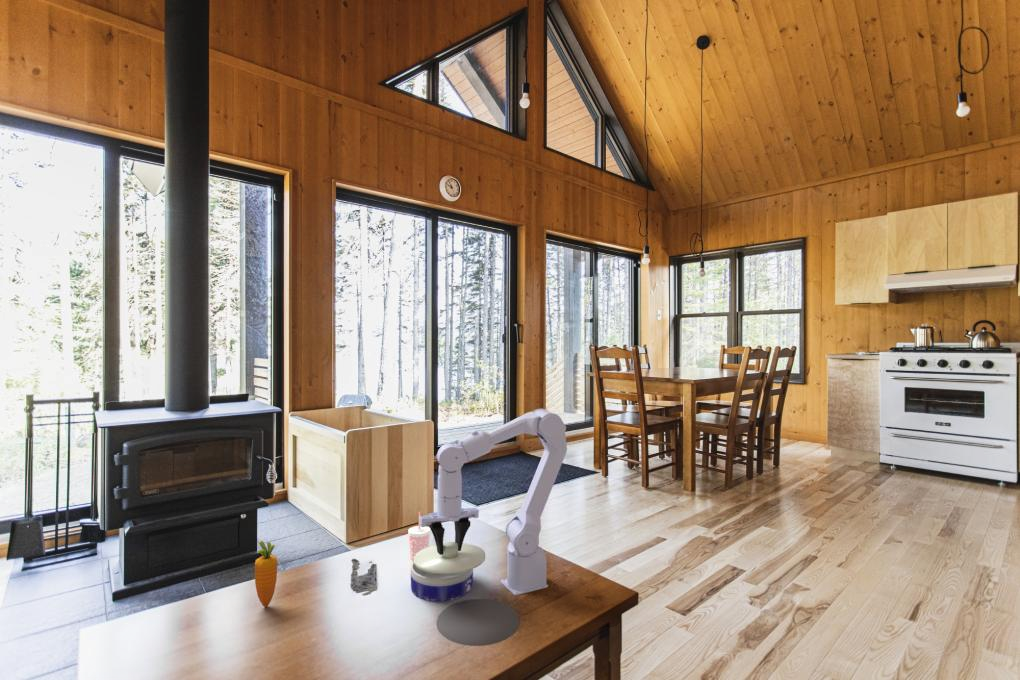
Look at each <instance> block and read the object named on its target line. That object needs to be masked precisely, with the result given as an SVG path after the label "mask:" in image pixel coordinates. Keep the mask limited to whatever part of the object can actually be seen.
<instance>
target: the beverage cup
mask: <svg viewBox="0 0 1020 680" xmlns="http://www.w3.org/2000/svg"><path fill="white" fill-rule="evenodd" d="M420 516H421V511H418V518H419V517H420ZM407 531H408V532H407V534H408V539H409V555H410V556H409V557H410V565H411V564H412V563H413V562H414V556H415V555H416V553H418V552H419V551H420V550H422V549H424V548H427V547H430V534H431V533H432V531H431V529H430V527H429V526H428V525H426V527H421V526H420V525H419V524H418V525H415V526H411V527H410V528H408V530H407Z"/></svg>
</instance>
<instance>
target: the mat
mask: <svg viewBox="0 0 1020 680" xmlns="http://www.w3.org/2000/svg"><path fill="white" fill-rule="evenodd" d="M520 620H521V619H520V616H519V614H518V612H517V611H516V609H514V608H513V607H512V606H510V604H509V605H508V604H507V603H505V602H502V601H498V600H496V599H495V600H494V599H486V598H475V599H471V598H470V599H466V600H461V601H459V602H455V603H453V604H451V605H449V606H447V607H446V608H444V609H443V610H442V611H441V612H440V614H439V615H438V616H437V619H436V628H437V629H436V630H438V632H439V634H441V636H443V638H446V639H447V640H448V641H450V642H452V643H455V644H459V645H463V646H471V647H472V646H473V647H480V646H488V645H489V646H490V645H494V644H498V643H500V642H503V641H505V640H507V639H509V638H511V637H512V636H513V635H514V634H515V633H516V632H517V631H518V629H519V627H520V623H521V621H520Z"/></svg>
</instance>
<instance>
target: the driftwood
mask: <svg viewBox="0 0 1020 680" xmlns="http://www.w3.org/2000/svg"><path fill="white" fill-rule="evenodd" d="M351 563H352V566H351V569H352V570H351V571H352V573H351V574H350V589H351V590H352V592H355V594H361V593H362V594H361V596H366V595H371V594H372V593H374V592H377V591H378V590H377V583H376V580H377V578H376V570H377V567H376V564H374V563H373V561H371V560H370V561H369V562H368V563H369V564H371V563H373V564H371V565H370V568H368V569H367V573H364V574H361V575H360V574H359V573H358V570H359V569H360V568H361V566H360V565H361V563H360V560H358V559H357V558H351Z"/></svg>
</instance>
